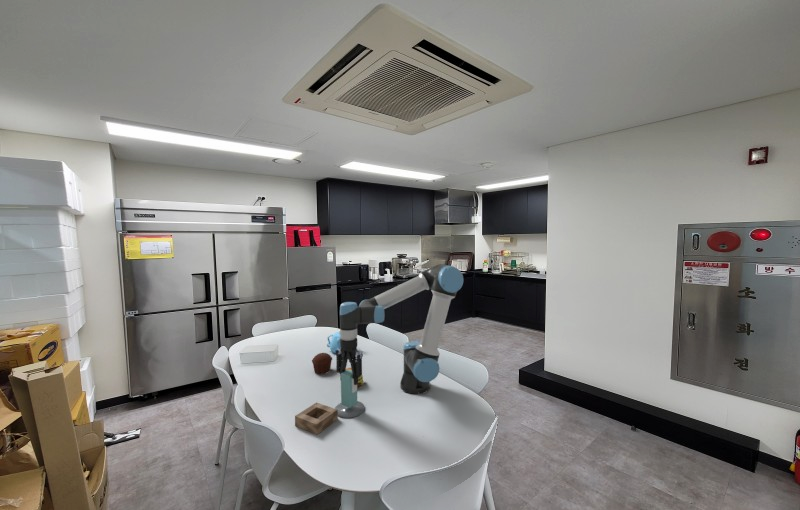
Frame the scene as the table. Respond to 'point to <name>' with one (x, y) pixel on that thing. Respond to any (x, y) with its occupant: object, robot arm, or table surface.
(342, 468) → the table surface
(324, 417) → the holder
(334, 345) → the decorative pot
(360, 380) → the cheeseburger
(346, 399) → the post
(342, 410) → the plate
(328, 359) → the muffin
